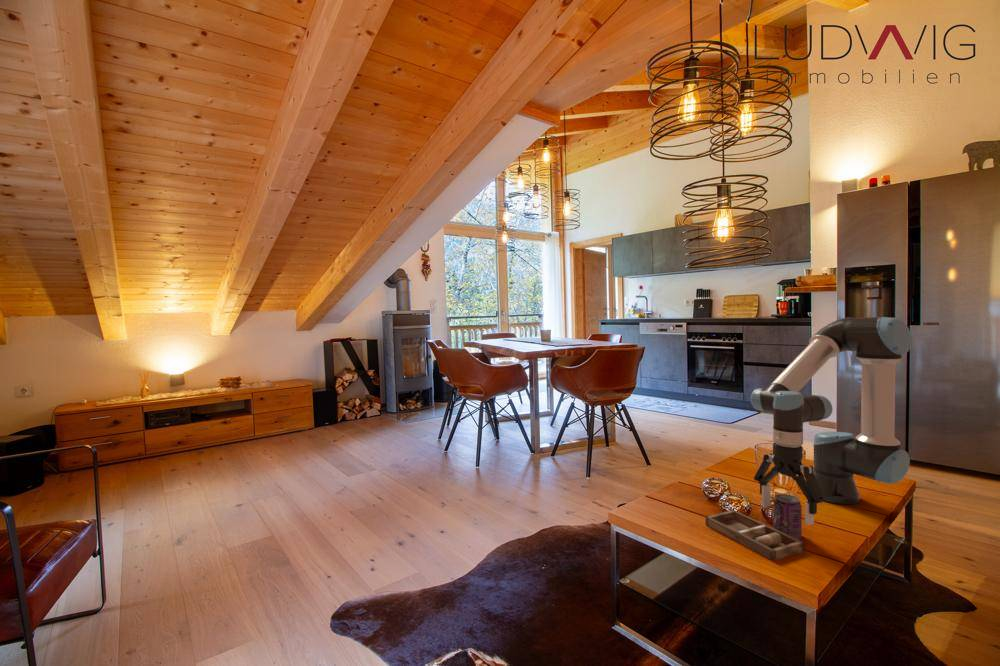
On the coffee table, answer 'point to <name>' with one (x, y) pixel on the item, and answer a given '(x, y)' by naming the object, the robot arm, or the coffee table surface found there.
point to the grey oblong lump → (770, 539)
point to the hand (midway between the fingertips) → (786, 514)
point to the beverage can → (788, 515)
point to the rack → (753, 534)
